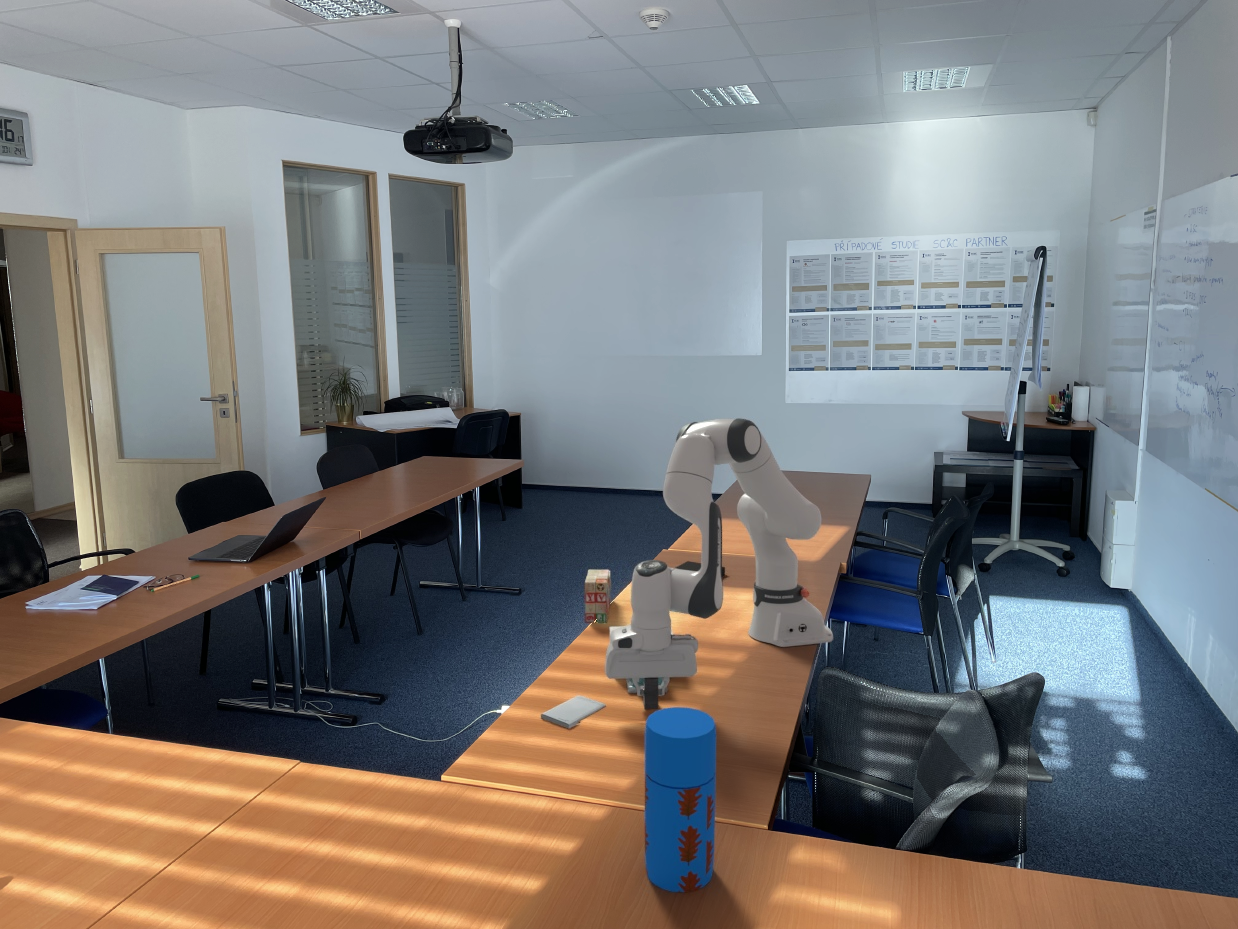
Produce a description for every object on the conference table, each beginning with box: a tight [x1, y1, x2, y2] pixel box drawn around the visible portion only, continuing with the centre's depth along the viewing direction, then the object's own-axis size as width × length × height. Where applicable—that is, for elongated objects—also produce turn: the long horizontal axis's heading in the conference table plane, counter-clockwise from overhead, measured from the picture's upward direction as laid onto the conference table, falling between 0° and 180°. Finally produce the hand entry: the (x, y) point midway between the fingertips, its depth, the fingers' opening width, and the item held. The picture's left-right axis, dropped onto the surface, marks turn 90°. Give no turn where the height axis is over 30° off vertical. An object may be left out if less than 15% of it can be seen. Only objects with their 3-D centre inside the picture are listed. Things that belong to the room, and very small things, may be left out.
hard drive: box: [540, 694, 607, 729], centre depth 194 cm, size 2×8×12 cm
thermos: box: [644, 706, 717, 893], centre depth 137 cm, size 11×11×25 cm
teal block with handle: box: [625, 677, 668, 710], centre depth 204 cm, size 9×20×7 cm, turn 3°
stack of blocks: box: [584, 569, 612, 624], centre depth 259 cm, size 21×6×12 cm, turn 177°
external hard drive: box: [674, 560, 726, 577], centre depth 289 cm, size 14×23×3 cm, turn 149°
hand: (650, 694), depth 195 cm, fingers closed on teal block with handle, 3 cm apart
